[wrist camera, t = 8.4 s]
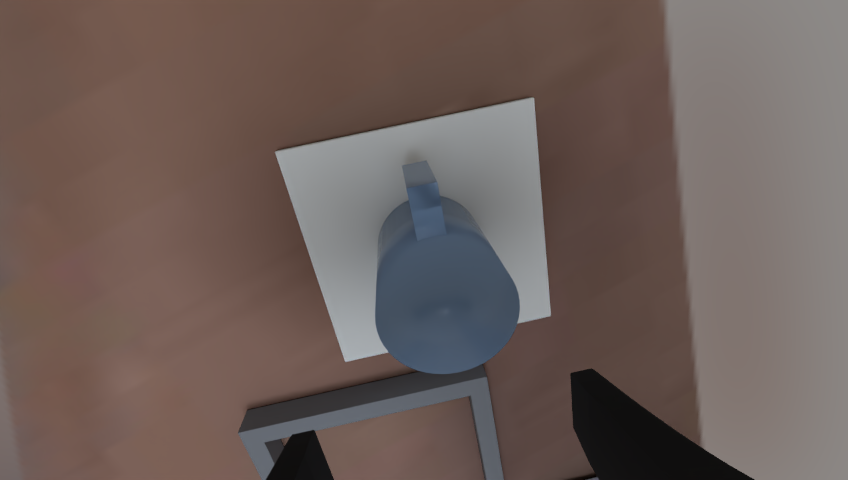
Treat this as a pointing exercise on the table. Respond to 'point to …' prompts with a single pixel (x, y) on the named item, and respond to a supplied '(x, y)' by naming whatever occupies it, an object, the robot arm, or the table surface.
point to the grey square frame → (371, 413)
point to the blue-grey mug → (440, 283)
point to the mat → (385, 190)
